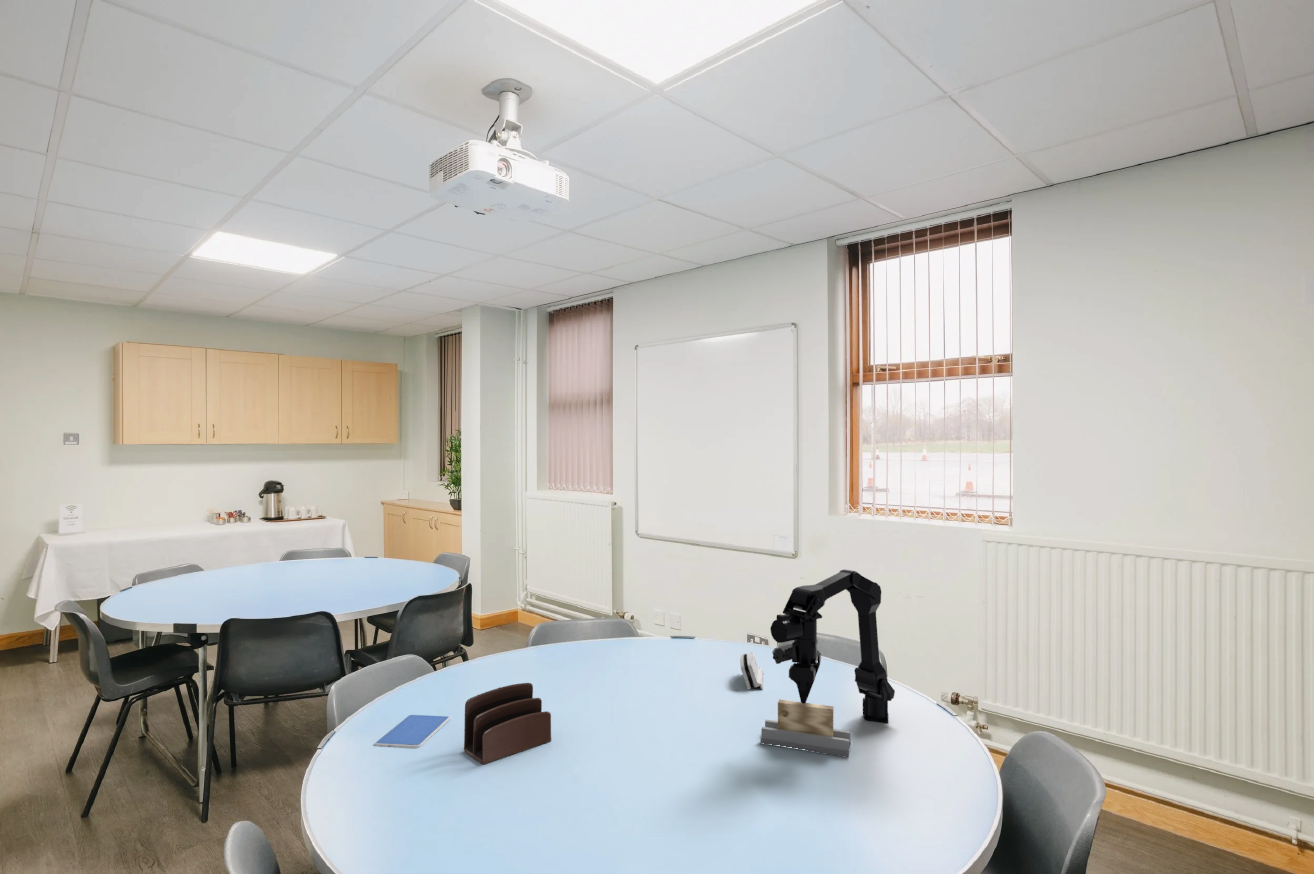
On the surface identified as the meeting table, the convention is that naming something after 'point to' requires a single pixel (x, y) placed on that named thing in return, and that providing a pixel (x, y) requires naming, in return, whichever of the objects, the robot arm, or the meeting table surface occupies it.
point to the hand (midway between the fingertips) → (805, 697)
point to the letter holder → (504, 723)
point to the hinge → (751, 671)
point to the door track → (806, 739)
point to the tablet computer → (413, 731)
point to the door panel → (805, 717)
